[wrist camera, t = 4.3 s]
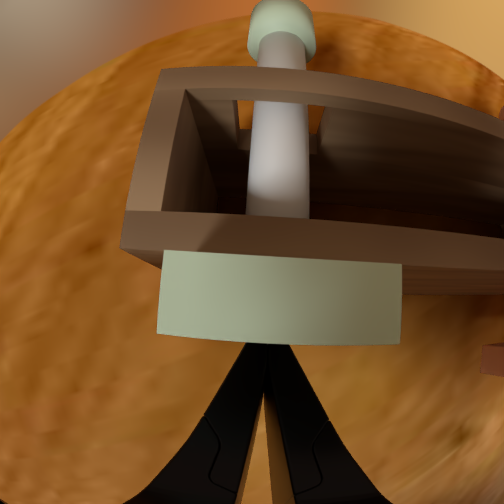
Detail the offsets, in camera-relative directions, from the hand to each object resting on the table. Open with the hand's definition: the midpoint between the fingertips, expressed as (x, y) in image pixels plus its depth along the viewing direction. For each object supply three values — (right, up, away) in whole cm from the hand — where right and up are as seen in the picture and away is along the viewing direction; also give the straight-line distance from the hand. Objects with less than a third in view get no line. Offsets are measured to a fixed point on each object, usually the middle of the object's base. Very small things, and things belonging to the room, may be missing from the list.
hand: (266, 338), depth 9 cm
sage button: (+1, +6, +5) cm, 8 cm away
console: (+8, +3, +8) cm, 11 cm away
